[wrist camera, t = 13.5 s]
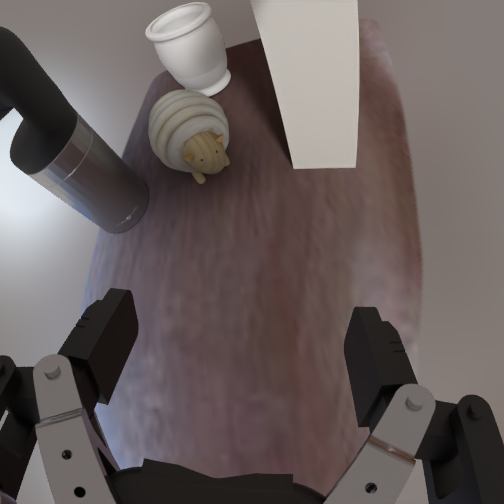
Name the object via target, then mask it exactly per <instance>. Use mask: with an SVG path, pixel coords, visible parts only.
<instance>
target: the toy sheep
mask: <svg viewBox="0 0 504 504" xmlns="http://www.w3.org/2000/svg"><path fill="white" fill-rule="evenodd" d="M148 134H149V138H150V144H151V148H152V150H153V152H154V153H155V155H156V156H157V157H158V158H160V160H161V161H162V162H163V163H164V164H165V165H166V166H167V167H169V168H172V169H175V170H180V171H184V172H191V174H192V175H193V177H194V178H195V180H196V181H197V182H198V183H199V184H203V183H204V182H205V181H206V178H205V176H204V174H203V173H205V174H216V173H219V172H220V171H221V170H222V169H223V167H226V166H228V165H229V164H230V160H229V158H228V156H227V154H226V152H225V150H226V148H227V146H228V142H229V126H228V121H227V119H226V117H225V115H224V112H223V109H222V108H221V106H220V105H219V104H218V103H217V102H216V101H214V100H213V99H211V98H209V97H208V96H206V95H204V94H202V93H199V92H194V91H190V90H175V91H172V92H169V93H167V94H166V95H164V96H162V97H161V98H160V99H159V100H158V101H157V102H156V103H155V104H154V106H153V108H152V110H151V112H150V116H149V126H148Z"/></svg>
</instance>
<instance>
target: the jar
mask: <svg viewBox="0 0 504 504" xmlns="http://www.w3.org/2000/svg"><path fill="white" fill-rule="evenodd" d="M211 13H212V9H211V7H210V6H209V4H207V3H203V2H195V3H190V4H185V5H182V6H179V7H176V8H174V9H172V10H170V11H168V12H166V13H164V14H162V15H161V16H159V17H158V18H157V19H155V20H154V21H153V22H152V23H151V24H150V25H149V26H148V28H147V29H146V36H147V37H148V39H150V40H151V41H154V45H155V49H156V52H157V54H158V56H159V58H160V60H161V62H162V64H163V65H164V66H165V68H166V69H167V70H168V71H169V72H170V73H171V74H172V76H173V77H174V78H175V79H176V81H177V82H178V83H180V84H181V85H182V86H184V87H185V90H190V91H194V92H199V93H202V94H204V95H206V96H208V97H209V96H212V95H214V94H216V93H218V92H220V91H221V90H222V89H224V88H225V87H226V86H227V84H228V83H229V81H230V78H231V74H230V72H229V70H228V69H227V55H226V51H225V44H224V39H223V36H222V33H221V31H220V29H219V27H218V25H217V24H216V22H215V20H214V19H213V18H212V17H211Z"/></svg>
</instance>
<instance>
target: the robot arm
mask: <svg viewBox="0 0 504 504" xmlns="http://www.w3.org/2000/svg"><path fill="white" fill-rule="evenodd" d="M13 108H15V109H16V110H17V111H18V112H19V114H20V115H21V116H22V117H23V121H22V122H21V124H20V126H19V128H18V129H17V131H16V133H15V136H14V138H13V141H12V144H11V149H10V158H11V161H12V162H13V164H14V165H15V166H16V167H18V168H19V169H20V170H21V171H23V172H24V173H26V174H27V175H28V176H30V177H31V178H32V179H34V180H35V181H37V182H38V183H39V184H40V185H42V186H43V187H45V188H46V189H47V190H49V191H50V192H52V193H53V194H54V195H56V196H57V197H58V198H60V199H61V200H62V201H64V202H65V203H67V204H68V205H69V206H71V207H72V208H74V209H75V210H77V211H78V212H79V213H81V214H82V215H84V216H85V217H87V218H88V219H89V220H91V221H92V222H94V223H95V224H97V225H98V226H99V227H101V228H102V229H104V230H105V231H107V232H109V233H114V234H115V233H121V232H124V231H126V230H128V229H130V228H131V227H132V226H134V225H135V224H136V223H137V222H138V221H139V220H140V218H141V217H142V215H143V214H144V212H145V210H146V207H147V204H148V198H149V194H148V189H147V187H146V185H145V184H144V182H143V181H142V180H141V179H140V178H139V177H138V176H137V175H136V174H135V173H134V172H133V171H132V170H131V169H130V168H129V167H128V166H127V165H126V164H125V163H124V161H123V160H122V159H121V158H120V157H119V156H118V155H117V154H116V153H115V152H114V151H113V150H112V149H111V148H110V147H109V146H108V145H107V144H106V143H105V141H104V140H103V139H102V138H101V137H100V136H99V135H98V134H97V133H96V132H95V131H94V130H93V129H92V128H91V127H90V126H89V125H88V124H87V123H86V121H85V120H84V119H83V118H82V117H81V116H80V115H79V114H78V113H77V112H76V111H75V109H74V108H73V107H72V106H71V105H70V104H69V102H68V101H67V99H66V98H65V97H64V95H63V94H62V92H61V91H60V89H59V88H58V87H57V85H56V84H55V83H54V82H53V81H52V80H51V78H50V77H49V76H48V75H47V74H46V72H45V71H44V70H43V68H42V67H41V66H40V65H39V63H38V62H37V61H36V60H35V58H34V56H33V55H32V54H31V52H30V51H29V50H28V48H27V47H26V46H25V45H24V43H23V42H22V41H21V40H20V39H19V38H18V37H17V36H16V35H15V34H14V33H13V32H11V31H10V30H8V29H6V28H4V27H0V120H1V119H2V118H3V117H5V116H6V115H7V114H8V113H9V112H10V111H11V110H12V109H13ZM137 335H138V319H137V314H136V310H135V305H134V300H133V295H132V292H131V291H130V290H124V289H115V288H111V289H109V291H108V292H107V293H106V295H105V296H104V298H103V300H97V301H96V302H94V303H93V304H91V305H90V306H89V307H87V309H86V310H85V312H84V313H83V315H82V316H81V319H79V321H78V322H77V324H76V327H74V328H73V330H72V331H71V333H70V335H69V336H68V338H67V339H66V341H65V342H64V344H63V346H62V347H61V349H60V350H59V352H58V354H55V355H49V356H46V357H44V358H42V359H41V360H40V361H39V362H38V363H37V364H36V366H35V367H16V365H15V363H14V362H13V360H12V359H11V358H10V357H8V356H4V355H1V356H0V421H1V418H2V416H3V414H4V412H5V410H7V411H8V412H9V413H8V415H7V417H6V420H5V422H4V424H3V426H2V428H1V430H0V504H17V503H16V499H17V495H18V492H19V489H20V486H21V483H22V480H23V477H24V474H25V471H26V468H27V465H28V463H29V460H30V457H31V455H32V452H33V449H34V446H35V444H36V441H37V439H38V444H39V448H40V452H41V456H42V460H43V464H44V468H45V471H46V475H47V479H48V482H49V485H50V488H51V492H52V495H53V498H54V501H55V504H395V502H396V500H397V498H398V497H399V495H400V493H401V491H402V489H403V488H404V486H405V484H406V482H407V480H408V478H409V476H410V474H411V472H412V470H413V468H414V466H415V463H416V460H414V459H421V460H422V463H423V469H424V475H425V481H426V487H427V494H428V501H429V504H504V444H503V441H502V438H501V435H500V432H499V429H498V426H497V424H496V421H495V418H494V415H493V413H492V410H491V408H490V406H489V404H488V403H487V402H486V401H485V400H484V399H483V398H481V397H479V396H477V395H466V396H464V397H463V398H462V399H461V400H460V401H459V403H458V404H454V403H448V402H442V401H437V400H435V399H434V397H433V395H432V394H431V393H430V391H429V390H428V389H426V388H425V387H423V386H421V385H418V383H417V380H416V377H415V375H414V372H413V369H412V367H411V364H410V361H409V359H408V356H407V354H406V353H405V349H404V346H403V344H402V341H401V339H400V336H399V334H398V331H397V330H396V329H395V328H394V327H393V326H392V325H391V324H390V323H389V322H388V321H382V320H381V318H380V315H379V313H378V310H377V308H376V307H355V308H354V310H353V313H352V316H351V320H350V323H349V327H348V330H347V333H346V337H345V341H344V355H345V360H346V365H347V370H348V374H349V379H350V384H351V389H352V395H353V400H354V405H355V411H356V416H357V422H358V427H369V429H370V435H369V436H368V438H367V440H366V441H365V443H364V444H363V446H362V447H361V449H360V450H359V452H358V453H357V455H356V456H355V458H354V459H353V461H352V462H351V463H350V465H349V466H348V468H347V469H346V470H345V472H344V473H343V475H342V476H341V477H340V479H339V480H338V481H337V483H336V484H335V485H334V486H333V488H332V489H331V490H330V492H329V493H328V494H327V495H326V497H325V496H323V495H322V494H320V493H319V492H317V491H315V490H313V489H311V488H309V487H307V486H304V485H301V484H297V483H293V474H259V473H255V474H248V475H242V476H235V477H227V478H212V477H209V476H206V475H204V474H201V473H198V472H195V471H193V470H190V469H188V468H185V467H183V466H180V465H176V464H170V463H165V462H159V461H154V460H149V459H145V458H144V462H143V465H142V467H132V468H127V469H122V470H120V468H119V466H118V464H117V462H116V461H115V459H114V457H113V455H112V453H111V451H110V449H109V446H108V444H107V441H106V439H105V436H104V434H103V431H102V429H101V426H100V423H99V421H98V418H97V415H96V412H95V410H94V408H95V406H96V404H97V402H98V403H102V404H106V405H108V403H109V401H110V399H111V396H112V394H113V391H114V389H115V387H116V384H117V382H118V379H119V377H120V375H121V372H122V370H123V368H124V365H125V363H126V361H127V359H128V356H129V354H130V352H131V350H132V347H133V345H134V343H135V341H136V338H137Z"/></svg>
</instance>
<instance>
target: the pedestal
mask: <svg viewBox="0 0 504 504" xmlns="http://www.w3.org/2000/svg"><path fill="white" fill-rule="evenodd" d="M250 2H251V6H252V9H253V12H254V16H255V19H256V22H257V25H258V29H259V33H260V36H261V40H262V43H263V47H264V50H265V54H266V58H267V61H268V65H269V69H270V73H271V76H272V80H273V84H274V88H275V92H276V96H277V100H278V104H279V108H280V112H281V116H282V120H283V124H284V129H285V133H286V137H287V141H288V146H289V150H290V155H291V159H292V163H293V168H294V169H306V168H355V167H356V152H357V134H358V110H359V29H358V8H357V7H358V6H357V0H250Z"/></svg>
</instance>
